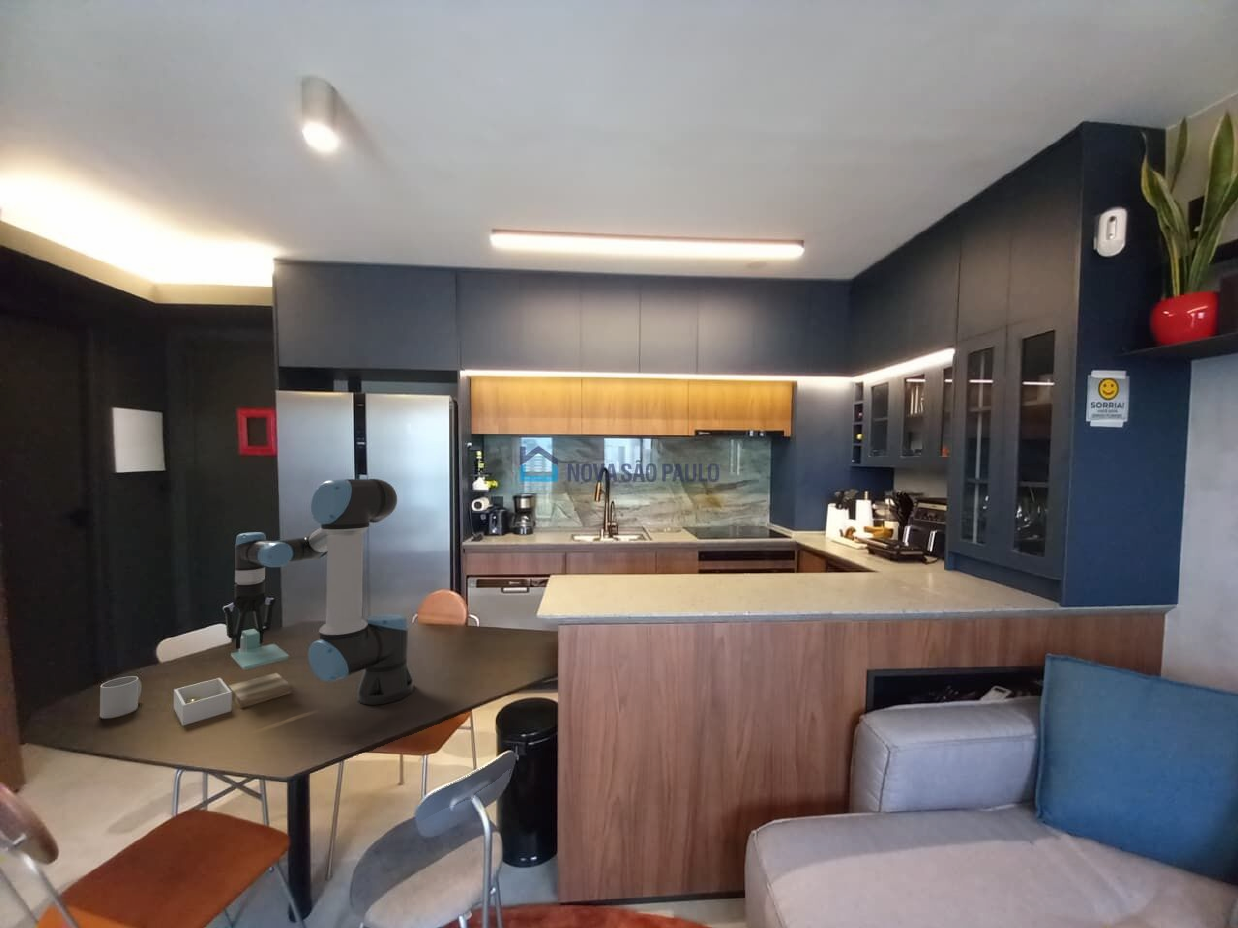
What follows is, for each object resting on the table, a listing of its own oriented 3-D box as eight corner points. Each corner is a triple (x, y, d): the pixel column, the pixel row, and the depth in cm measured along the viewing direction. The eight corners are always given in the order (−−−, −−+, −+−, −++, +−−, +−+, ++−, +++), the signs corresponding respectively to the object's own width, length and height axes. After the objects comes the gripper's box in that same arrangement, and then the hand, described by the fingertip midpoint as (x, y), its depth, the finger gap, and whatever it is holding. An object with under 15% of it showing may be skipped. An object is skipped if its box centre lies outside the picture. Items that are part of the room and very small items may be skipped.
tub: (231, 713, 131) (231, 691, 131) (182, 728, 123) (182, 705, 123) (219, 697, 140) (220, 677, 140) (173, 711, 132) (174, 689, 132)
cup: (91, 722, 127) (92, 688, 127) (125, 703, 136) (126, 672, 137) (121, 720, 127) (122, 686, 128) (153, 702, 137) (154, 671, 137)
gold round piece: (200, 707, 133) (200, 699, 133) (187, 711, 131) (187, 702, 131) (198, 704, 134) (198, 696, 135) (185, 708, 132) (185, 699, 132)
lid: (288, 660, 141) (289, 641, 141) (243, 671, 133) (243, 651, 133) (268, 642, 155) (268, 625, 155) (225, 652, 147) (226, 634, 147)
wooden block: (290, 695, 142) (290, 685, 142) (240, 710, 133) (240, 699, 133) (276, 681, 151) (276, 672, 151) (228, 695, 142) (228, 685, 142)
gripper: (277, 575, 159) (275, 646, 159) (214, 584, 146) (212, 660, 146) (284, 579, 154) (282, 651, 154) (219, 588, 142) (218, 667, 141)
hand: (248, 656), depth 150 cm, fingers closed on lid, 3 cm apart
